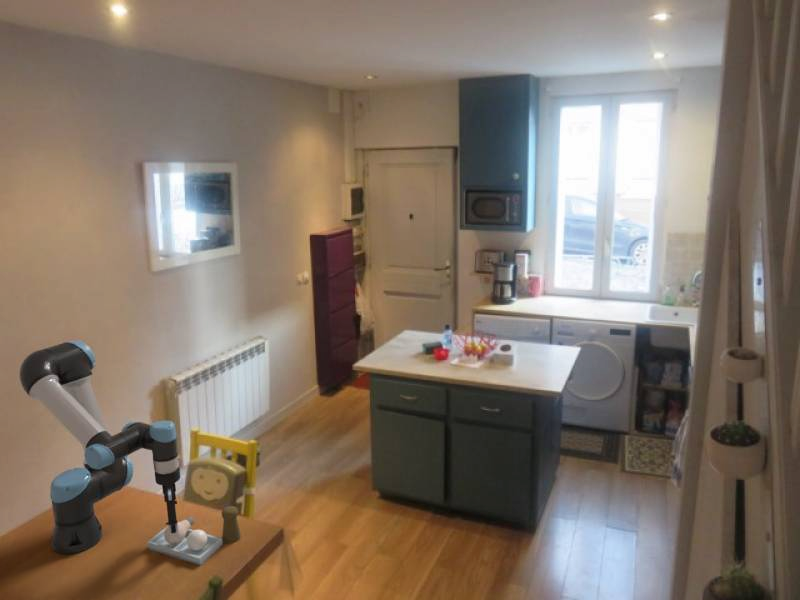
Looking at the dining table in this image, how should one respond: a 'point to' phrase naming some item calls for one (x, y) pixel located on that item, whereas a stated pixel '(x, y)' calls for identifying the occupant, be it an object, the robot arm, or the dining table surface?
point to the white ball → (197, 540)
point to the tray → (185, 548)
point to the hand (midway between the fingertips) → (173, 532)
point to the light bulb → (180, 530)
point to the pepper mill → (230, 525)
